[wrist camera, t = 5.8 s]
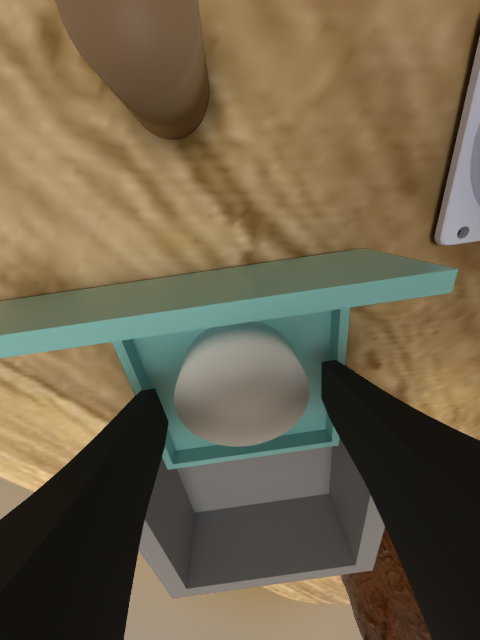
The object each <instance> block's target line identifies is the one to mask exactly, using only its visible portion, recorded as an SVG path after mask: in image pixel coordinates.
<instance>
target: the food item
mask: <svg viewBox="0 0 480 640" xmlns="http://www.w3.org/2000/svg"><path fill="white" fill-rule="evenodd" d="M341 578H342V581H343V583H344V585H345V587H346V591H347V593H348V596H349V598H350V603H351V606H352V609H353V613H354V617H355V620H356V622H357V625H358V628H359V630H360V633H361V635H362V637H363V640H432V638H431V635H430V633H429V630H428V628H427V625H426V623H425V620H424V618H423V615H422V613H421V610H420V608H419V605H418V603H417V600H416V598H415V596H414V593H413V591H412V588H411V586H410V584H409V581H408V579H407V576H406V574H405V572H404V569H403V567H402V565H401V562H400V560H399V557H398V555H397V553H396V551H395V548H394V546H393V544H392V541H391V539H390V537H389V535H388V532H387V530H386V528H384V532H383V536H382V539H381V543H380V546H379V550H378V553H377V557H376V560H375V564H374V567H373V570H372V571H365V572H358V573H351V574H344V575H341Z"/></svg>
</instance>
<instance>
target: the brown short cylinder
mask: <svg viewBox="0 0 480 640" xmlns="http://www.w3.org/2000/svg"><path fill="white" fill-rule="evenodd" d="M56 3H57V7H58V10H59V13H60V16H61V19H62V21H63V24H64V26H65V28H66V30H67V33H68V35H69V37H70V38H71V40H72V42H73V44H74V45H75V47H76V48H77V50H78V51H79V53H80V54H81V56H82V57H83V58H84V60H85V61H86V62H87V63H88V64H89V65H90V67H91V68H92V69H93V70H94V71H95V72H96V73H97V74H98V76H99V77H100V78H101V79H102V80H103V81H104V82H105V83H106V84H107V86H108V87H109V88H110V89H111V90H112V91H113V92H114V93H115V95H116V96H117V97H118V98H119V99H120V100H121V101H122V102H123V103H124V105H125V106H126V107H127V108H128V109H129V110H130V111H131V112H132V114H133V115H134V116H135V117H136V118H137V119H138V120H139V121H140V122H141V124H142V125H143V126H144V127H146V128H147V129H148V130H149V131H151V132H152V133H154V134H155V135H157V136H160V137H162V138H166V139H179V138H183V137H185V136H187V135H189V134H190V133H192V132H193V131H194V130H195V129H196V128H197V127H198V126H199V124H200V123H201V121H202V119H203V117H204V115H205V112H206V109H207V105H208V99H209V83H208V75H207V67H206V59H205V52H204V44H203V36H202V28H201V21H200V13H199V5H198V0H56Z"/></svg>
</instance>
